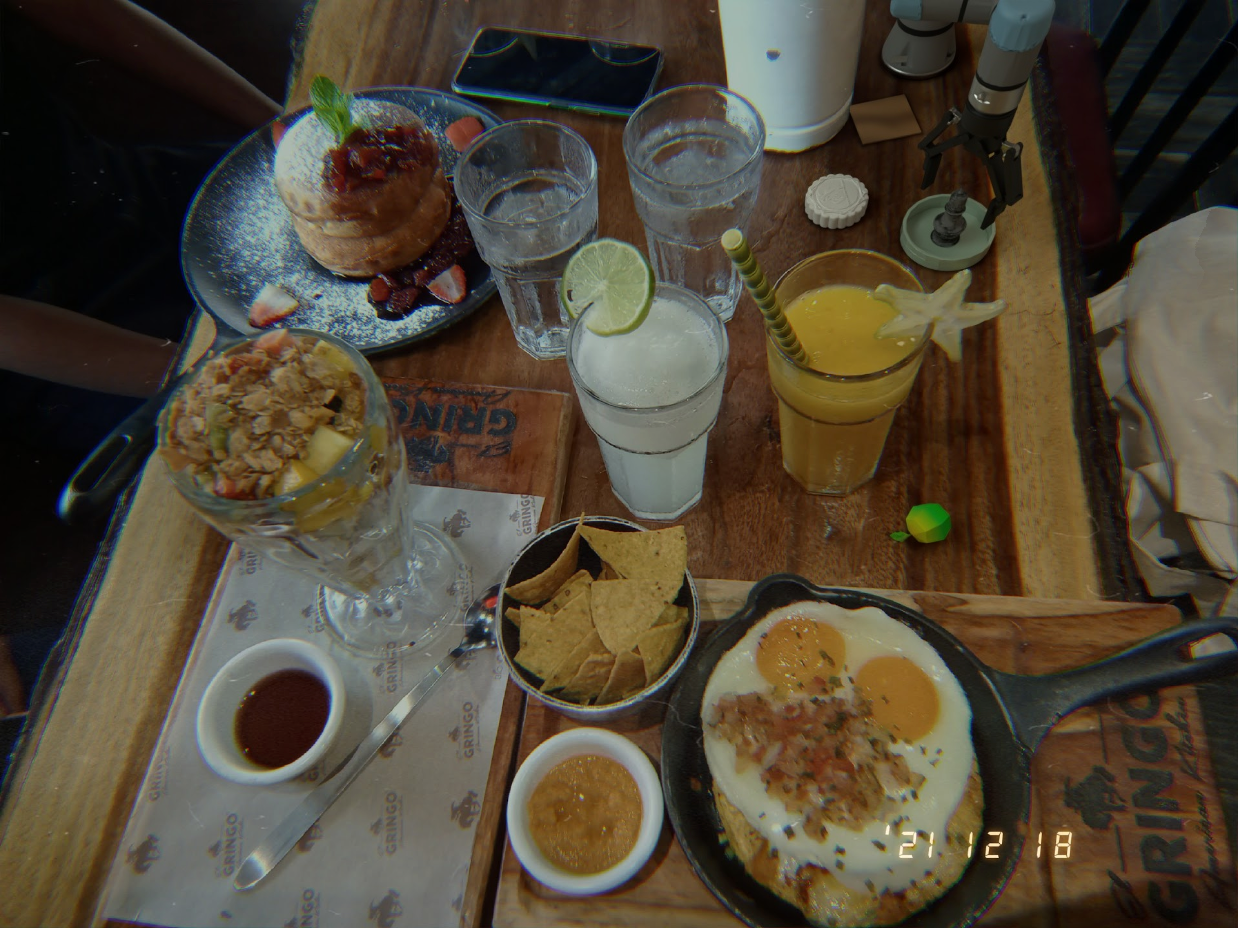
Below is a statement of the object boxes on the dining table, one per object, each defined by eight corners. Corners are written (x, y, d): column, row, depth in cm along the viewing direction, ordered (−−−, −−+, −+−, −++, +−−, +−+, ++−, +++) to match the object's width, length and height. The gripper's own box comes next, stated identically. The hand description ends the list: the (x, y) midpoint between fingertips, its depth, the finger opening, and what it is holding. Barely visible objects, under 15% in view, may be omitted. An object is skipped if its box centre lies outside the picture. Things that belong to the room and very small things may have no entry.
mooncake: (799, 191, 149) (800, 177, 146) (858, 180, 148) (861, 166, 145) (811, 234, 144) (812, 221, 141) (873, 224, 143) (876, 210, 140)
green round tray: (889, 215, 143) (892, 203, 141) (973, 198, 142) (978, 186, 139) (914, 278, 136) (917, 267, 133) (1003, 261, 135) (1008, 250, 132)
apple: (951, 497, 109) (905, 531, 108) (968, 532, 110) (922, 565, 109) (920, 489, 116) (876, 521, 114) (936, 522, 117) (893, 553, 116)
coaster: (847, 107, 158) (848, 106, 157) (904, 96, 157) (904, 94, 156) (862, 145, 152) (863, 144, 152) (921, 133, 151) (921, 132, 151)
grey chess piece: (961, 249, 137) (980, 201, 126) (928, 248, 138) (944, 200, 128) (961, 225, 139) (980, 176, 129) (929, 224, 141) (944, 175, 130)
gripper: (913, 77, 117) (888, 181, 136) (1044, 153, 106) (998, 254, 125) (946, 54, 119) (918, 160, 137) (1079, 127, 108) (1028, 231, 127)
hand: (956, 205), depth 131 cm, fingers open, 13 cm apart
